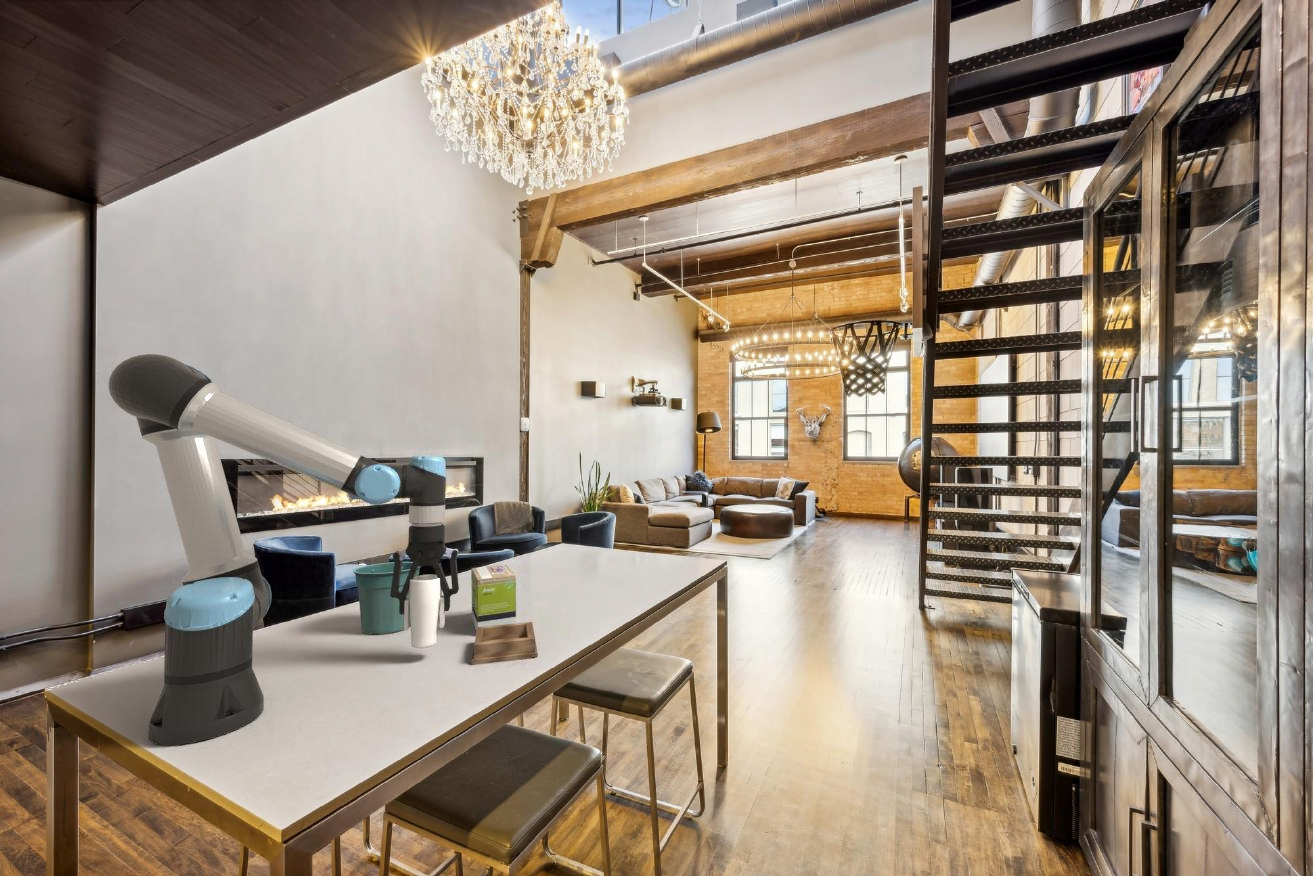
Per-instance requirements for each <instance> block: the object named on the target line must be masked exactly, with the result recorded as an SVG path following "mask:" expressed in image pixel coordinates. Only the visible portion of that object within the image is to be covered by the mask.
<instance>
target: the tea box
mask: <svg viewBox="0 0 1313 876" xmlns="http://www.w3.org/2000/svg"><path fill="white" fill-rule="evenodd" d="M470 574H471V579H470V580H471V619H472V623H473V627H474V629H475V631H477V627H484V626H494V625H505V624H516V623H517V581H516V580H517V576H516V574H515V573H514V572H513V571H512V569H511V568H510V567H509V566H508V565H507V564H501V565H499V564H498V565H489V566H480V567H471V573H470Z"/></svg>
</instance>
